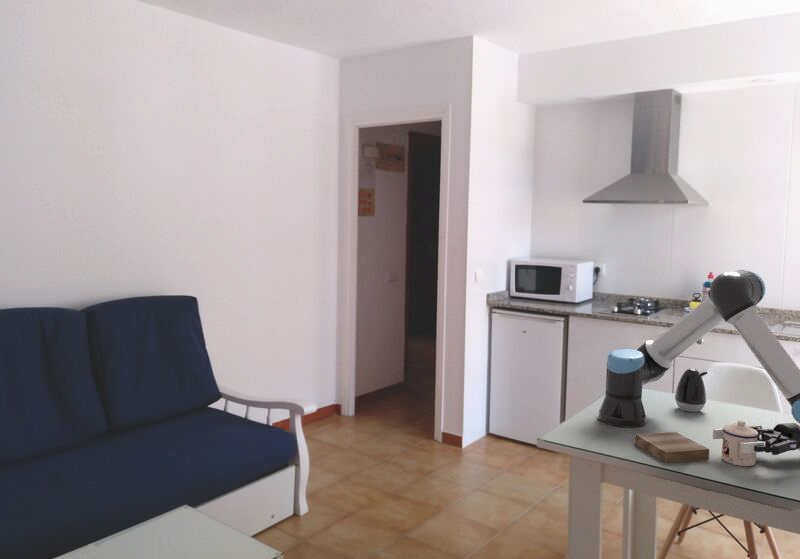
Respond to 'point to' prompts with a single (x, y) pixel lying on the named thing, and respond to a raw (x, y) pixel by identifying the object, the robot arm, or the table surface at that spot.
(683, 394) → the pump dispenser
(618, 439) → the table surface
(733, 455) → the teacup with lid
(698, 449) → the walnut stand
